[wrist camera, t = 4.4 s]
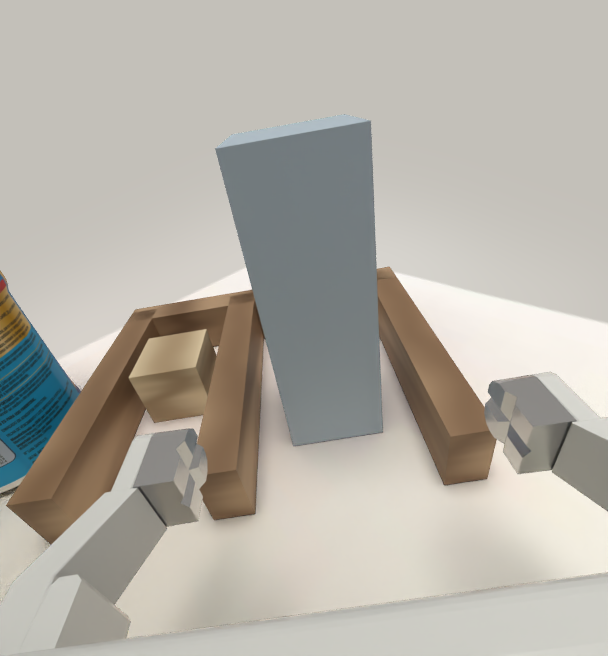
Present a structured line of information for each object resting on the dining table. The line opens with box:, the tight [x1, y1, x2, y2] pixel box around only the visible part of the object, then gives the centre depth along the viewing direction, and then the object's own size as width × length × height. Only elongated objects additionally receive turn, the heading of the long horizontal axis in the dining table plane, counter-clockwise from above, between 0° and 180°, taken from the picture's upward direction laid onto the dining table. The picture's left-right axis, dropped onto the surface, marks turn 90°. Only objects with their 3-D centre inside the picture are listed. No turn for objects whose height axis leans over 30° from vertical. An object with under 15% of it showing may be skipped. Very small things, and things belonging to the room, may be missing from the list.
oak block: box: [129, 329, 217, 423], centre depth 23 cm, size 4×4×4 cm
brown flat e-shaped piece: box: [6, 267, 497, 544], centre depth 22 cm, size 21×16×4 cm
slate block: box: [215, 114, 383, 446], centre depth 17 cm, size 5×5×15 cm
